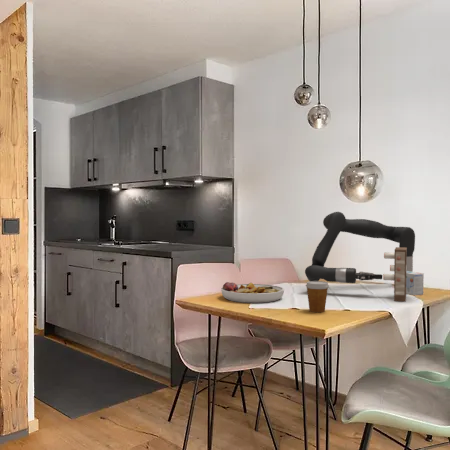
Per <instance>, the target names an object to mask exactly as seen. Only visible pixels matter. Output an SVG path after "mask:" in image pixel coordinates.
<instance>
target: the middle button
mask: <svg viewBox="0 0 450 450" xmlns="http://www.w3.org/2000/svg"><path fill="white" fill-rule="evenodd" d="M406 270H407V265H406ZM389 272H394V264H389Z"/></svg>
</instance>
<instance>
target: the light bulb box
mask: <svg viewBox="0 0 450 450" xmlns="http://www.w3.org/2000/svg"><path fill="white" fill-rule="evenodd" d="M424 274H425V273H423V272H415V271H413V272H410V271H407V272H406V295H411V296H420V295H421V296H423V295H424V278H425V277H424Z"/></svg>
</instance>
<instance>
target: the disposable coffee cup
mask: <svg viewBox="0 0 450 450" xmlns="http://www.w3.org/2000/svg"><path fill="white" fill-rule="evenodd" d="M305 287H306V293H307V294H306V295H307V301H308V308H309V309H308V310H309V312H311V313H324V312H325V311H326V305H327V304H326V303H327V296H328V290H329V287H330V285H329V283H328V281H322V280H321V281H320V280H319V281H309V280H308V281H307V282H306V284H305Z"/></svg>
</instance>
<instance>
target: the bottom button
mask: <svg viewBox="0 0 450 450" xmlns="http://www.w3.org/2000/svg"><path fill="white" fill-rule="evenodd" d="M382 280H383V281H393V282H394V273H392V274H391V273H383V274H382Z"/></svg>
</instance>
